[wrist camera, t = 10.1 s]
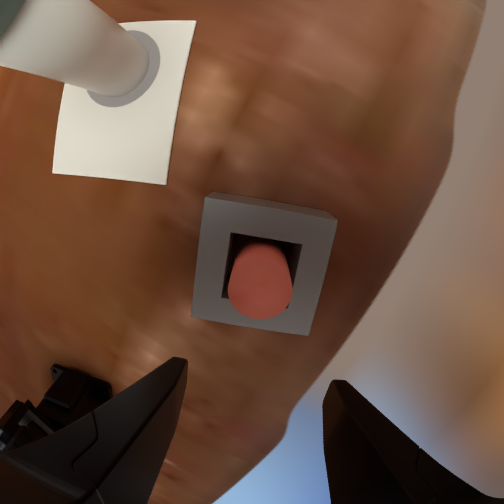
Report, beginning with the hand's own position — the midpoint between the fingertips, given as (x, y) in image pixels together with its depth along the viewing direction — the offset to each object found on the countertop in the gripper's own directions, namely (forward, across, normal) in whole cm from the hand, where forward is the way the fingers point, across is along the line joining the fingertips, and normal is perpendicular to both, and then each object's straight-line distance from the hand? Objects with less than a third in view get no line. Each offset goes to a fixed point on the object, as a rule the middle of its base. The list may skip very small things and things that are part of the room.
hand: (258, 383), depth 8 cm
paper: (+12, +11, -9) cm, 19 cm away
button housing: (+12, 0, 0) cm, 12 cm away
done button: (+10, 0, 0) cm, 10 cm away
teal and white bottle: (+12, +11, -11) cm, 19 cm away
